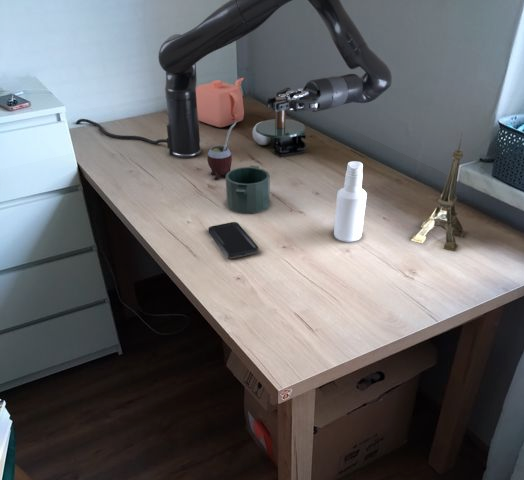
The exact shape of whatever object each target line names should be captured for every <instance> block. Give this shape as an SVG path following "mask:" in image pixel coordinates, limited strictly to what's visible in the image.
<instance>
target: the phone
mask: <svg viewBox="0 0 524 480" xmlns="http://www.w3.org/2000/svg"><path fill="white" fill-rule="evenodd" d="M208 234H209V235H210V237H211V238H212V240H213V241H214V242H215V243H216V245H217V247H219V249H220V250H221V252H222V253H223V255H224V256H225V257H226V259H229V260H234V259H239V258H243V257H248V256H252V255H257V254H259V246H258V245H257V244H256V243H255V241H254V240H253V239H252V237H250V236H249V234H248V233H247V232H246V230H245V229H244V228H243V227H242V226H241V225H240V224H239V222H237V221H231V222H226V223H221V224H216V225H211V226H209V227H208Z"/></svg>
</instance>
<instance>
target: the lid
mask: <svg viewBox="0 0 524 480" xmlns="http://www.w3.org/2000/svg"><path fill="white" fill-rule="evenodd" d="M275 97H276V96H275ZM285 99H286V98H285V97H276V98H275V102H276V101H280V100H285ZM286 111H287V110H282V111H277V112H276V111H274V119H273V118H272V119H266V120H262V121H263V122H262V121H260V123H259V122H258V123H259V124H257V123H256V124H257V125H256V124H255V125H256V132H257V133H259V134H260V135H263V136H266V137H272V138H289V137H294V136H297V135H300V134H302V133H303V132H304V133H305V129H306V127H305V124H303V123H302V122H301V121H298V120H294V119H289V118H286V115H287V113H286Z"/></svg>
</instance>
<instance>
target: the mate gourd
mask: <svg viewBox="0 0 524 480" xmlns="http://www.w3.org/2000/svg"><path fill="white" fill-rule="evenodd" d="M237 123H238V122H237V121H236V122H235V123H234V124H231V125H230V127H229V129H228V130H227V133H226V138H225V142H224V145H217V146H216V145H215V146H212V147H211V148H210V149H209V150H208V152H207V165H208V166H209V168H210V170H211V172H210V174H211V175H212V176H215V177H214V180H216V181H218V180H219V179H220V178H226V174H227V173H228V172H229V171H231V170H232V169H231V168H232V162H233V157H232V156H233V155H232V152H231V151H230V149H229V148H228V147H227V145H228V141H229V137H230V135H231V133H232V132H231V131H232V129H233V128H234V127H235V126H236V124H237Z"/></svg>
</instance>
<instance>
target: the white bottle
mask: <svg viewBox="0 0 524 480" xmlns="http://www.w3.org/2000/svg"><path fill="white" fill-rule="evenodd" d="M363 167H364V165H363V163H362V161H357V160H351V161H349V162H348V163H347V168H346V171H345V176H344V177H345V178H344V183H343V187H341V188H339V190H338V191H337V195H336V205H335V217H334V227H333V228H334V229H333V235H334V237H335V238H336V239H337V240H339V241H342V242H348V243H350V242H356V241H358V240H360V239H361V238H362V235H363V228H364V220H365V219H364V218H365V211H366V204H367V195H368V193H367V192H366V190H365V189H363V188H362V187H363V186H362V185H363V175H364V172H363Z"/></svg>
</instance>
